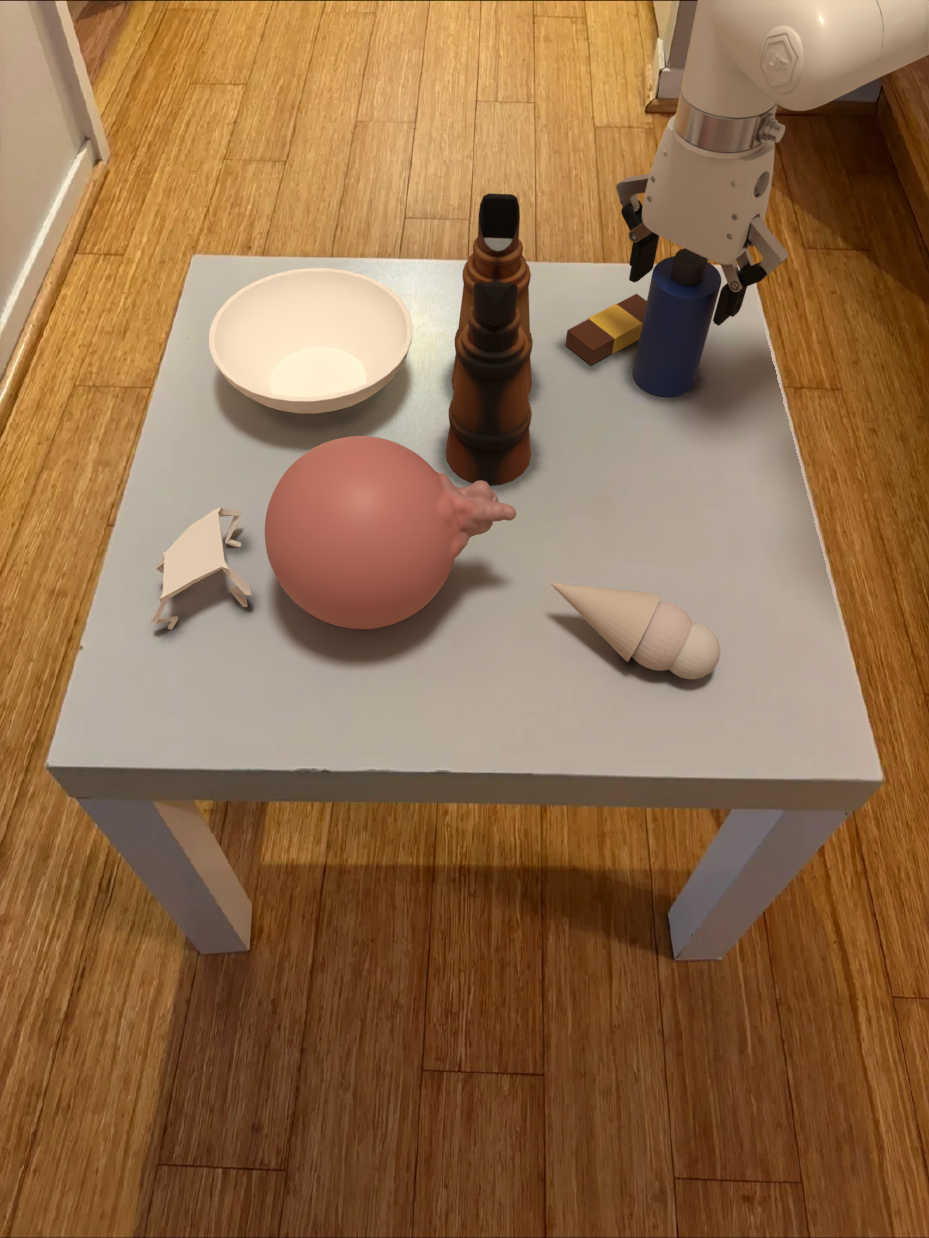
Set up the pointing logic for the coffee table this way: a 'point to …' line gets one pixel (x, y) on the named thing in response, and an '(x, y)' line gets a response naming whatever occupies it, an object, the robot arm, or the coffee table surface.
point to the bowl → (311, 339)
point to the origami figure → (198, 560)
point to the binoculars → (493, 353)
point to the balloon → (370, 530)
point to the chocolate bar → (608, 330)
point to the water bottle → (676, 323)
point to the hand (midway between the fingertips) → (681, 296)
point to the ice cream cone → (646, 629)
